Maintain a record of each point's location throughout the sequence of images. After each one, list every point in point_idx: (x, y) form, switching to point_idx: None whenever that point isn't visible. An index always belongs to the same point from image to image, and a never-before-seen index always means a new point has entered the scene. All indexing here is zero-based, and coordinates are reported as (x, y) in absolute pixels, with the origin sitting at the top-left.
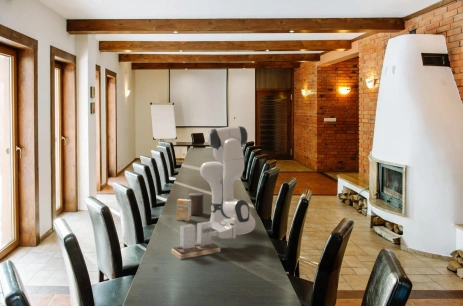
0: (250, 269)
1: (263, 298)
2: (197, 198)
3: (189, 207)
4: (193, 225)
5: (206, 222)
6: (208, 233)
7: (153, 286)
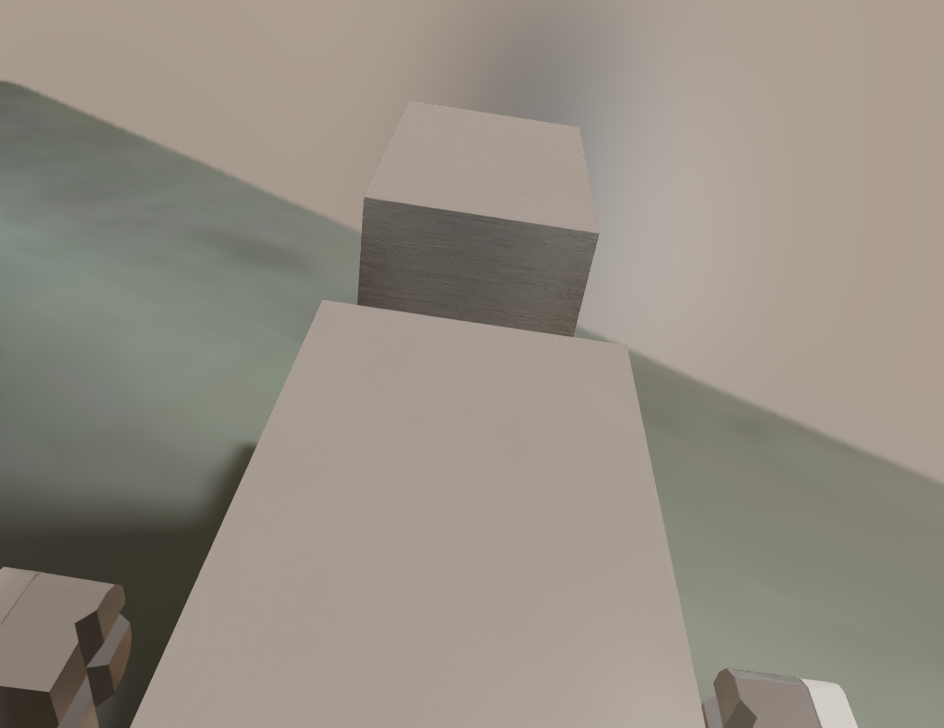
0: None
1: None
2: None
3: None
4: (434, 203)
5: (570, 633)
6: (17, 578)
7: (13, 149)
